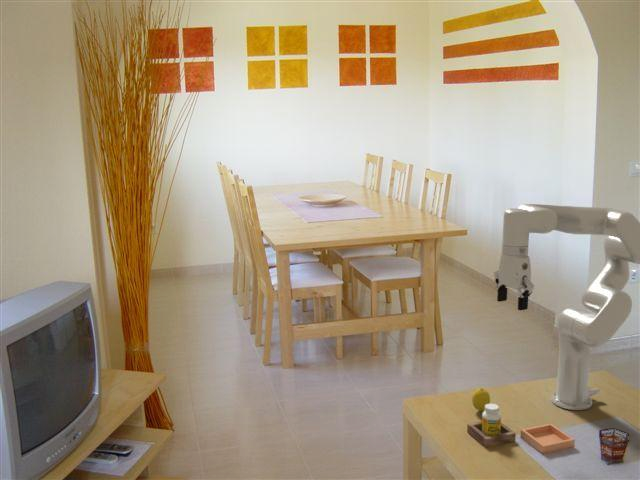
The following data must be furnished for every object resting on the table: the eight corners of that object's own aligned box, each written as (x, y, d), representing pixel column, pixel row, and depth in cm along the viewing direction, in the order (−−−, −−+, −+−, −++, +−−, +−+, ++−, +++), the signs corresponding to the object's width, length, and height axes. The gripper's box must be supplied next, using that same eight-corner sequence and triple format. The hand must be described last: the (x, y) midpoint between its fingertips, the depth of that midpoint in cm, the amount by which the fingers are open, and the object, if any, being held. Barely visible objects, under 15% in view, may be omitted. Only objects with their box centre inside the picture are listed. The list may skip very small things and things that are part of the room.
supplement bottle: (495, 431, 209) (496, 401, 207) (503, 439, 204) (504, 409, 202) (478, 433, 208) (479, 403, 206) (486, 441, 203) (487, 411, 201)
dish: (550, 431, 208) (550, 423, 208) (574, 447, 198) (574, 439, 198) (520, 437, 205) (520, 429, 204) (543, 454, 195) (543, 446, 194)
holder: (495, 425, 212) (496, 418, 211) (515, 441, 203) (515, 433, 202) (467, 431, 209) (467, 424, 208) (485, 447, 200) (485, 439, 199)
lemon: (489, 416, 218) (490, 392, 217) (471, 414, 219) (472, 391, 218) (489, 408, 224) (490, 385, 222) (471, 407, 225) (472, 384, 223)
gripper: (544, 255, 201) (541, 311, 204) (506, 243, 217) (504, 296, 220) (523, 257, 198) (520, 314, 202) (486, 245, 214) (484, 299, 217)
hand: (512, 305), depth 211 cm, fingers open, 9 cm apart
